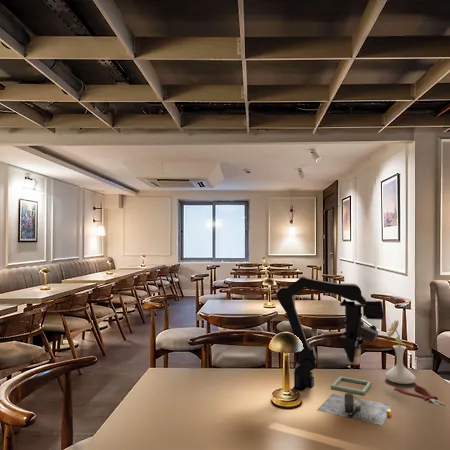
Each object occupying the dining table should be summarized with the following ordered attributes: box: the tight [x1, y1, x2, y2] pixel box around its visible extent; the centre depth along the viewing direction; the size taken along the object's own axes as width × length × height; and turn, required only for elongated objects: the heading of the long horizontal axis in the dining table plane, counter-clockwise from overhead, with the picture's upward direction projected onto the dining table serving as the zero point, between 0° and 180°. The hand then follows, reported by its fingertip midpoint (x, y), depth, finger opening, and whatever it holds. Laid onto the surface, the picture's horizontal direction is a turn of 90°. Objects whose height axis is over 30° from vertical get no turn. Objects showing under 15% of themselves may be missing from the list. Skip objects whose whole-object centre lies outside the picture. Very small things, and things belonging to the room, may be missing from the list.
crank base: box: [316, 393, 393, 426], centre depth 130 cm, size 21×17×3 cm
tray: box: [330, 375, 373, 396], centre depth 149 cm, size 12×12×2 cm
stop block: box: [346, 348, 362, 366], centre depth 146 cm, size 4×4×5 cm
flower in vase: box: [384, 319, 417, 385], centre depth 158 cm, size 13×11×25 cm
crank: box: [344, 392, 361, 414], centre depth 127 cm, size 10×4×6 cm, turn 148°
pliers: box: [393, 384, 449, 407], centre depth 139 cm, size 12×20×3 cm, turn 18°
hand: (353, 360), depth 146 cm, fingers closed on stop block, 4 cm apart
